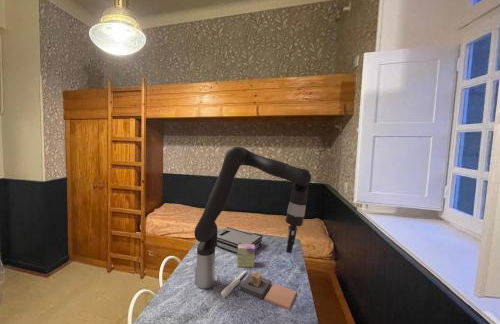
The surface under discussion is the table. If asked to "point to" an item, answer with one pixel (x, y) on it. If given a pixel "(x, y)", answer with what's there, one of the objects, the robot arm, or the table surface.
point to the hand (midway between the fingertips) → (289, 248)
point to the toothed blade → (232, 285)
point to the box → (246, 255)
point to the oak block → (256, 280)
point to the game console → (236, 239)
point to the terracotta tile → (280, 296)
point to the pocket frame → (255, 291)
